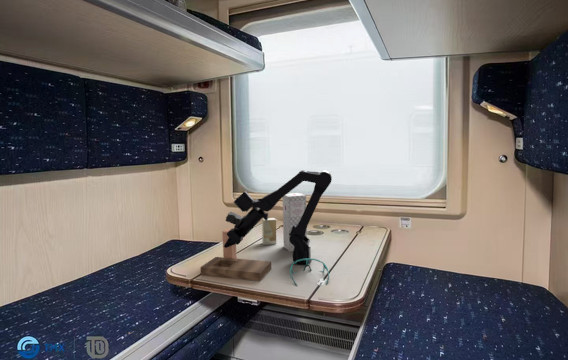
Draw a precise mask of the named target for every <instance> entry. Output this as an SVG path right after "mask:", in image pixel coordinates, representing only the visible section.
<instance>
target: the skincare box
mask: <svg viewBox="0 0 568 360" xmlns="http://www.w3.org/2000/svg"><path fill="white" fill-rule="evenodd" d="M261 220H262V221H261V223H262V224H261V227H262V229H261V230H262V231H261V232H262V235H261V236H262V237H261V238H262V241H261V242H262V244H263V245H265V246H266V245H267V246H268V245H269V246H270V245H276V244H277V219H276V218H275V217H269V218H268V219H267V220H265V219H264V218H262V219H261Z"/></svg>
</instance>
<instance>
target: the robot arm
mask: <svg viewBox="0 0 568 360" xmlns="http://www.w3.org/2000/svg"><path fill="white" fill-rule="evenodd" d="M332 179H333V178H332V174H331V172H329V171H328V170H321V171H311V170H310V171H308V170H300V171H299V172H298V173H297V174H296V175H294V176H293V177H292V178H291V179H289V180H288V181H286V182H285V183H284V184H283V185H281V186H280V187H279V188H278V189H276V190H274V191H272V192H271V193H268V194H267V195H264V196H263V197H261V198H256V199H254V198H252V196H250V194H249V193H248V191H246V190H245V191H243V192H242V193H241V194H240V195H239V196H237V197H236V198H235V200H234V201H233V204H234V205H235V206H236V207H237V208H238V209H239V210H240V211H241V212H244V213H245V212H247V214H245V215H244V216H241V215H239V214H237V213H235V212H232V211H230V212H228V213H227V215H226V217H225V222H227V223H230V224H232V225H234V226H233V228H231V230H230V231H229V232H228V233H227V236H228V237H229V238H228V240H227V242H226V243H225V245H224V247H225V248H227V247H229V246H232V245H235V244H236V246H237V245H239V244H241V242H242V241H244V238H245V237H246V236H247V235H248V234H249V233H250V232H251V231H252V230H253V229H254V227H256V225H258V224H259V222H260V221H261V220H262V219H265V220H267V219H268V218H270V217H269V212H270V211H271V210H272V209H273V208H274V207H276V205H277V203H278V202H279V201H280V200H281V199H283V196H285V195H286V194H290V192H291V191H293V190H294V189H295V188H296V187H298V186H299V185H300V184H301V183H303V182H307V183H313V184H314V187H313V191H312V194H311V195H310V198H309V200H308V201H307V203H306V208H305V211H304V213H303V215H302V217H301V219H300V221H299V222H298V224H296V223H294V224H293V227H292V230H291V231H290V233H289V235H290V237H289V240H290V243H291V244H292V245H294V251H292V263H294V262H296V261H297V260H300V259H306V258H311V259H312V257H311V246H310V242H311V240H310V239H309V238H308V237H306V236H305V233H306V229H308V226H309V223H310V221H311V219H312V216H313V214H314V212H315V210H316V208H317V207H318V204H319V202H320V200H321V197H322V196H323V194H324V193H325V192H326V190H327V189H328V188H329V186H330V184H331V183H332ZM249 210H250V211H249ZM312 261H313V260H308V261H307V264H309V265H310V264H311V262H312ZM293 265H299V266H300V265H301V266H305V265H306V260H301V261H299V262H296V263H294V264H293Z"/></svg>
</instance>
